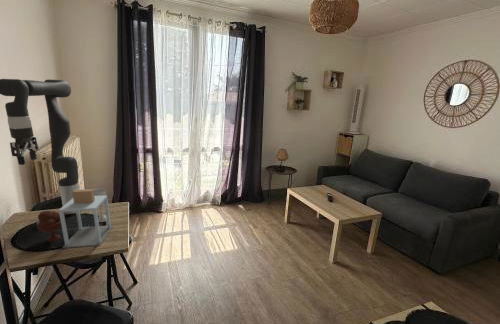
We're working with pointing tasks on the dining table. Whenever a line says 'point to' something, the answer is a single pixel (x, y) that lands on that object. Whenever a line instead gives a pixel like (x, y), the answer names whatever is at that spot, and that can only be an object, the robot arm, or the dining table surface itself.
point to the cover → (84, 202)
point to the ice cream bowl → (49, 224)
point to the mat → (87, 237)
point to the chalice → (102, 193)
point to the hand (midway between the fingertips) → (28, 161)
